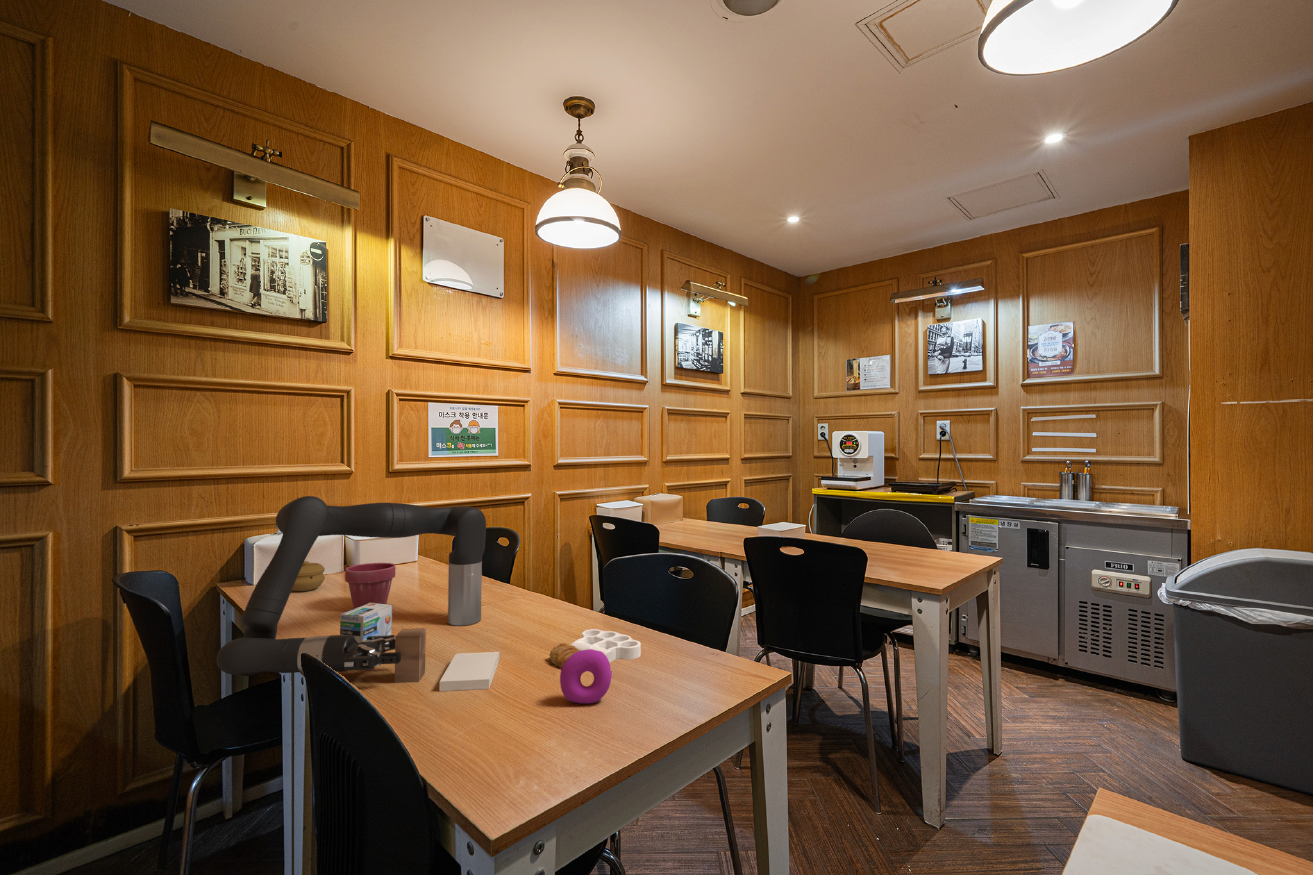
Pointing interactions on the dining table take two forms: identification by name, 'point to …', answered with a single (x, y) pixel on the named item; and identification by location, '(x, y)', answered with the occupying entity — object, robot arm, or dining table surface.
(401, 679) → the walnut block
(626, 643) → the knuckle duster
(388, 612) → the light bulb box
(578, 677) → the donut
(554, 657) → the pastry
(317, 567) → the pot
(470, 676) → the plastic platform
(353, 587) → the plant pot
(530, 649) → the dining table surface
